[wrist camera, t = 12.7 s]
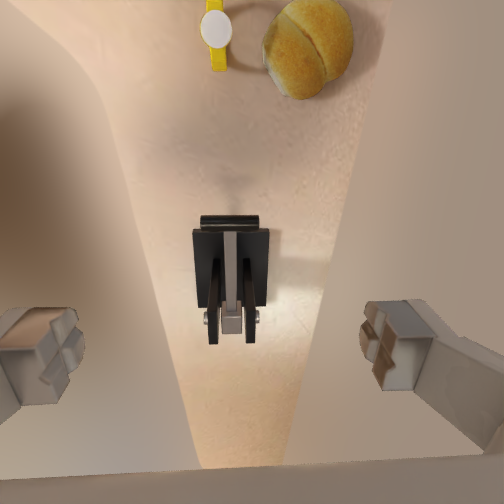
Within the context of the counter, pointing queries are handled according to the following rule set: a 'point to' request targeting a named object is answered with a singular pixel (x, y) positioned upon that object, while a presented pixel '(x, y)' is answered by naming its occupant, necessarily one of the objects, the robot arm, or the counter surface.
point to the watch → (216, 33)
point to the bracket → (248, 276)
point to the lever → (230, 262)
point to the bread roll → (307, 46)
